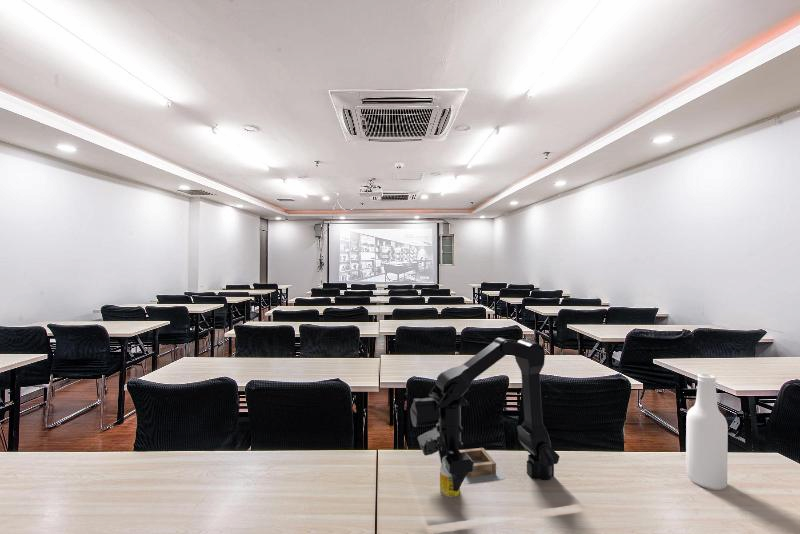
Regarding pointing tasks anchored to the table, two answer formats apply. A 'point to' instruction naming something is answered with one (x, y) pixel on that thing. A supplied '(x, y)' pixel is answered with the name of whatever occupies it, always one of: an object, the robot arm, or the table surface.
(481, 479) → the board
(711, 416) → the alcohol
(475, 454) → the collar
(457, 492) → the supplement bottle
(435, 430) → the robot arm
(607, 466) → the table surface
